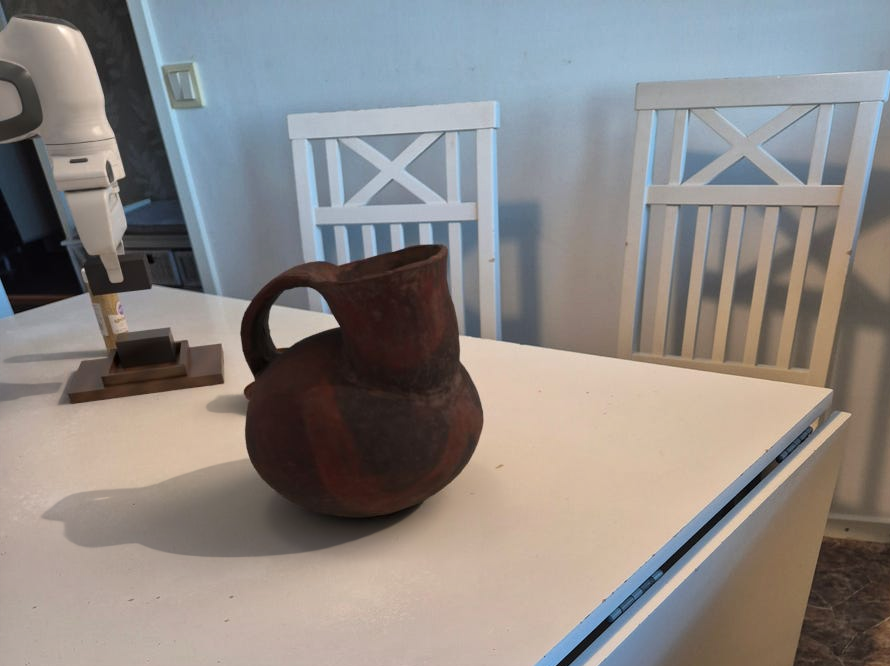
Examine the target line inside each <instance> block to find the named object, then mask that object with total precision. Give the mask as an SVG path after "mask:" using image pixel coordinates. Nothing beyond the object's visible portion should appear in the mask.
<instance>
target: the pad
mask: <svg viewBox="0 0 890 666" xmlns="http://www.w3.org/2000/svg"><path fill="white" fill-rule="evenodd" d="M117 257H118V260H119V264H120V266H121V269H122V272H123V276H124V278H123V281H122V282H118V283H112V282H111V281H110V280H109V276H108V273H107V270H106V268H105V266H104V264H103V262H102V260H101V258H100V256H98V257H89V258H87V259H86V261H85V263H84V264H83V266H82V267H83V268H84V270H85V273H86V276H87V280H88V283H89V286H90V289H91V292H92V295H93V296H97V295H106V294H114V293H117V294H122V293H130V292H131V293H132V292H138V291H139V292H140V291H147V290H152V288H153V283H154V279H153V274H152V271H151V267H150V263H149V260H148V256H147V253H146V251H142V252H133V253H124V254H123V255H117Z"/></svg>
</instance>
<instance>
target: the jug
mask: <svg viewBox="0 0 890 666" xmlns="http://www.w3.org/2000/svg"><path fill="white" fill-rule="evenodd" d="M448 253H449V249H448V247H447V246H446V245H444V244H440V243H437V244H436V243H431V244H429V243H428V244H427V243H426V244H413V245H410V246H407V247H404V248H401V249H398V250H395V251H387V252H384V253H380V254H377V255H373V256H369V257H366V258H363V259H359V260H354V261H350V262H345V263H342V264H339V265H337V264H335V263H332V262H330V261H325V260H315V261H308V262H305V263H301V264H297V265H294V266H292V267H290V268H288V269H287V270H284V271H283V272H281V273H280V274H278V275H277V276H275V277H274V278H272V279H271V280H270V281H269V282H268V283H266V284H265V285H264V286H263V287H262V288H261V289H260V290H259V291H258V292H257V293H256V294H255V295H254V296H253V298H252V299H251V301H250V303H249V304H248V306H247V307H246V309H245V311H244V313H243V316H242V319H241V323H240V332H239V333H240V341H241V349H242V353H243V356H244V359H245V362H246V364H247V366H248V368H249V370H250V373H251V374H252V376H253V378H254V381H255V385H254V388H253V391H252V394H251V397H250V400H248V403H247V408H246V414H245V425H244V440H245V449H246V451H247V452H246V453H247V455H248V458H249V460H250V463H251V465H252V466H253V468H254V470H255V472H256V473H257V474H258V475H259V477H260V478H261V479H262V480H263V481H264V483H266V484H267V485H268V486H269V487H270V489H272V490H273V491H275V492H276V493H277V494H278V495H280V496H281V497H283V499H286V500H287V501H289V502H291V503H292V504H295V505H298V506H300V507H302V508H304V509H306V510H309V511H311V512H314V513H318V514H323V515H329V516H337V517H346V518H368V517H376V516H386V515H390V514H393V513H397V512H399V511H402V510H404V509H407V508H410V507H412V506H413V507H414V506H416V505H418V504H420V503H423V502H424V501H426V500H428V499H430V498H431V497H433V496H435V495H436V494H438V493H439V492H440V491H442V490H443V489H445V488H446V487H447V486H449V484H451V483H452V482H453V481H454V480H455V479H456V478H457V477H458V476H459V475H460V474H461V473H462V472H463V470H464V469H465V468H466V467H467V466H468V464H469V462H470V460H471V459H472V457H473V455H474V454H475V451H476V449H477V447H478V444H479V442H480V438H481V436H482V431H483V429H484V421H485V419H484V409H483V405H482V400H481V398H480V395H479V394H480V393H479V391H478V389H477V387H476V385H475V383H474V380H473V379H472V377H471V374H470V372H468V370H467V368H466V367H465V365H464V364H463V362H461V344H460V343H461V342H460V329H459V321H458V317H457V312H456V308H455V304H454V301H453V298H452V296H451V293H450V289H449V288H450V287H449V284H448V283H449V281H448V256H449V255H448ZM296 288H297V289H298V288H309V289H311V290H312V289H313V290H314V291H316V292H317V293H319V295H321V297H322V298H323V300H325V303H326V304H327V306H328V308H329V310H330V312H331V314H332V316H333V317H334V319H335V321H336V323H337V324H338V326H336V327H333V328H329V329H326V330H322V331H320V332H316V333H315V334H314V333H313V334H311V335H308V336H306V337H304V338H302V339H300V340H299V341H297V342H294V343H293V344H292V345H291V346H289V348H288V349H287V350H286V351H285V352H283V353H281V352H279V351H278V350H277V347H276V345H275V343H274V340H273V338H272V336H271V329H270V324H269V322H270V315H271V314H270V313H271V309H272V307H273V306H274V304H275V303H276V302H277V300H278V299H279V297H280V296H281V295H282V294H284V292H285V291H289V290H293V289H296Z"/></svg>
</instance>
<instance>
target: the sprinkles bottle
mask: <svg viewBox="0 0 890 666" xmlns="http://www.w3.org/2000/svg"><path fill="white" fill-rule="evenodd" d="M80 273H81V276H82V279H83V282H84V283H85V285H86V288H87V291H88V294H89V297H90V302H91V305H92V309H93V312H94V315H95V318H96V322H97V325H98V328H99V331H100V333H101V335H102V338H103V341H104V345H105V348H106V353H107V354H108V355H109V352H110V349H117V348H116V344H115V341H116V338H117V335H118V333H127V332H130V331H129V327H128V323H127V320H126V316H125V313H124V310H123V306H122V304H121V301H120V297H119V293H114V294H106V295H97V296H93V295H92V292H91V289H90V286H89V283H88V280H87V276H86V273H85V270H84V267H83V268H81V270H80Z"/></svg>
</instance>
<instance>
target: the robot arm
mask: <svg viewBox="0 0 890 666" xmlns="http://www.w3.org/2000/svg"><path fill="white" fill-rule="evenodd" d="M105 105H106V101H105V95H104V91H103V87H102V84H101V80H100V77H99V74H98V71H97V68H96V65H95V61H94V58H93V56H92V54H91V50H90V48H89V46H88V43H87V41H86V39H85V37H84V35H83V33H82V32H81V31H80V29H79V28H78V27H77V26H75V25H74V24H73V23H71V22H70V21H68V20H66V19H63V18H59V17H55V16H54V17H53V16H47V15H40V14H31V13H17V14H15V15H13V16H11V18H10V19H9V21H8V23H7V24H6V26H5V27H4V28H3V29H2V30H1V31H0V145H1V144H9V143H14V142H15V143H16V142H19V141H23V140H37V139H41V140H42V142H43V146H44V149H45V152H46V155H47V158H48V161H49V164H50V168H51V170H52V171H51V172H52V177H53V181H54V184H55V187H56V189H57V191H58V192H63V195H64V199H65V203H66V205H67V208H68V211H69V213H70V216H71V218H72V221H73V223H74V227H75V229H76V232H77V234H78V236H79V237H78V238H79V239H80V242H81V245H82V246H83V247H84V249H85V251H86V253H87V255H89V256H99V257H100V258H101V260H102V262H103V264H104V266H105V268H106V270H107V273H108V276H109V280H110V281H111V282H112V283H118V282H122V281H123V278H124V276H123V272H122V269H121V266H120V264H119V260H118V257H117V255H123V254H125V247H124V242H123V236H124V234H125V232H126V230H127V229H128V223H127V218H126V214H125V211H124V206H123V203H122V200H121V198H120V194H119V193H120V186H119V183H118V181H119V180H121V179H124V178H125V177H126V173H125V169H124V164H123V160H122V156H121V153H120V149H119V145H118V141H117V139H116V135H115V133H114V130H113V129H112V127H111V125H110V123H109V121H108V117H107V114H106V106H105Z"/></svg>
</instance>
